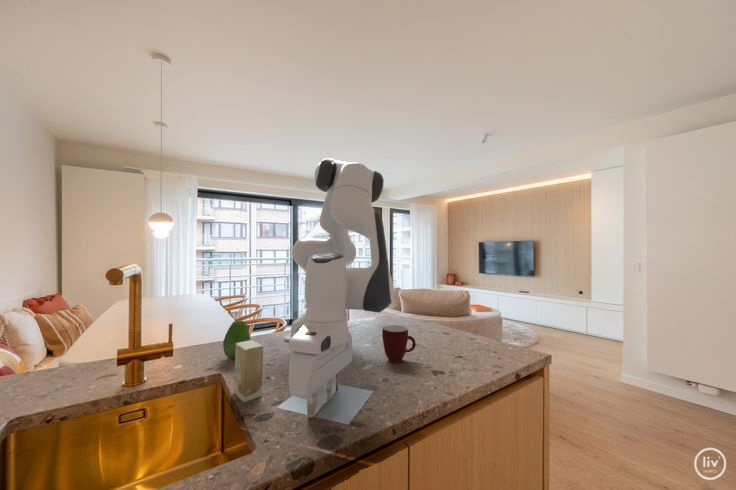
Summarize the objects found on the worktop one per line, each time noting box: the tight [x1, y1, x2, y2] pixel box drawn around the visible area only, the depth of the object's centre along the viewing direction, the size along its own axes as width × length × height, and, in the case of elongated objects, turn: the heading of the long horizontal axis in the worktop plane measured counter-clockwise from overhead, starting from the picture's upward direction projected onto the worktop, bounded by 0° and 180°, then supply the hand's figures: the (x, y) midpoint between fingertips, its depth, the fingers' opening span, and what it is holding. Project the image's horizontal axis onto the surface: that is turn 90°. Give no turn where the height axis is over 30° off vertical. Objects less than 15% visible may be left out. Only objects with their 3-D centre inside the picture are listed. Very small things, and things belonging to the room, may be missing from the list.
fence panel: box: [306, 379, 336, 418], centre depth 66 cm, size 12×1×6 cm, turn 163°
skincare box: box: [233, 339, 264, 403], centre depth 71 cm, size 6×4×12 cm
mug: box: [381, 324, 417, 363], centre depth 95 cm, size 11×8×10 cm
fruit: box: [222, 319, 251, 361], centre depth 95 cm, size 8×8×12 cm
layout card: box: [276, 384, 374, 426], centre depth 69 cm, size 17×15×1 cm
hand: (325, 399), depth 61 cm, fingers closed
